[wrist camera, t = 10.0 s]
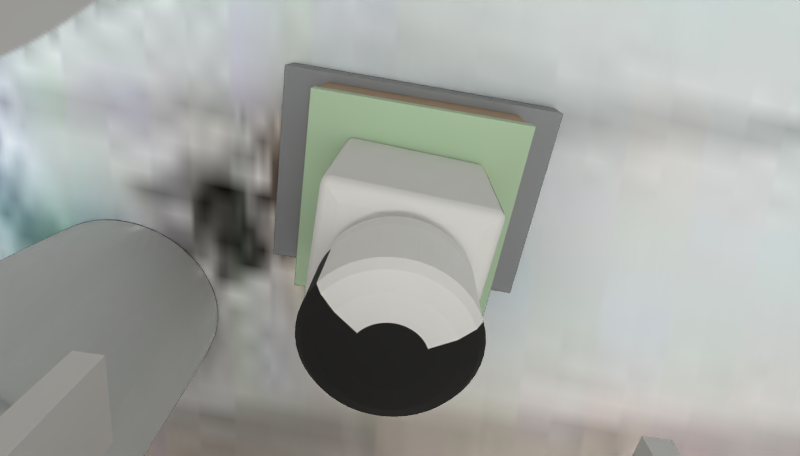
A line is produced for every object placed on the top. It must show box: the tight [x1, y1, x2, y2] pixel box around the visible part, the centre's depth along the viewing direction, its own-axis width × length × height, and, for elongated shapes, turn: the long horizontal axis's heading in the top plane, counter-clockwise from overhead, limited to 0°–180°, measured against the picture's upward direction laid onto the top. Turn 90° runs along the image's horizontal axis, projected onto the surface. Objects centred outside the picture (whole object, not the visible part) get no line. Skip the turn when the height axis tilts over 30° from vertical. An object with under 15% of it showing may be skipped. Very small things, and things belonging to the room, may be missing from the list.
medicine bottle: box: [295, 138, 505, 417], centre depth 20 cm, size 7×7×12 cm
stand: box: [273, 63, 563, 316], centre depth 28 cm, size 16×12×6 cm
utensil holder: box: [0, 220, 218, 456], centre depth 27 cm, size 15×15×18 cm
